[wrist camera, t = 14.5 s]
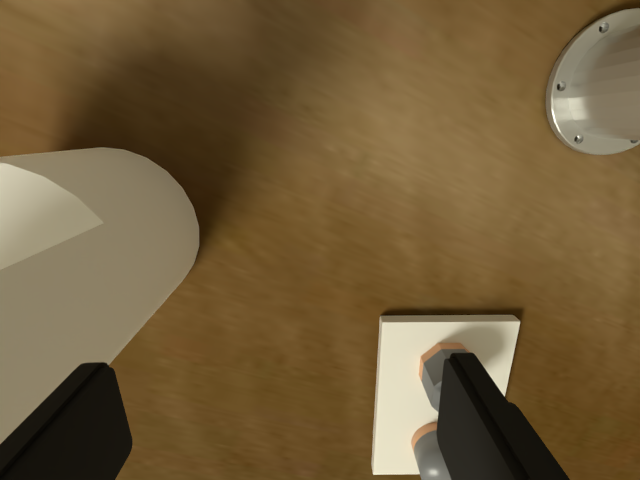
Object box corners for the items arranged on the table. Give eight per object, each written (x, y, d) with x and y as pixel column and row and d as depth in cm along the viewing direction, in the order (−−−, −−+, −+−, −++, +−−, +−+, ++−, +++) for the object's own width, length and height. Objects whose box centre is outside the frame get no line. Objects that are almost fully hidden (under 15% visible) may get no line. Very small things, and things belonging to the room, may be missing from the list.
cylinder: (231, 253, 38) (34, 540, 12) (114, 323, 41) (-258, 685, 14) (126, 112, 34) (-597, 62, 7) (3, 203, 36) (-849, 412, 10)
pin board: (513, 314, 41) (548, 348, 35) (483, 463, 49) (508, 512, 42) (380, 315, 41) (391, 349, 35) (371, 464, 48) (379, 513, 42)
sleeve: (476, 342, 40) (497, 371, 36) (469, 386, 42) (488, 419, 38) (421, 342, 40) (435, 371, 36) (417, 387, 42) (429, 419, 38)
